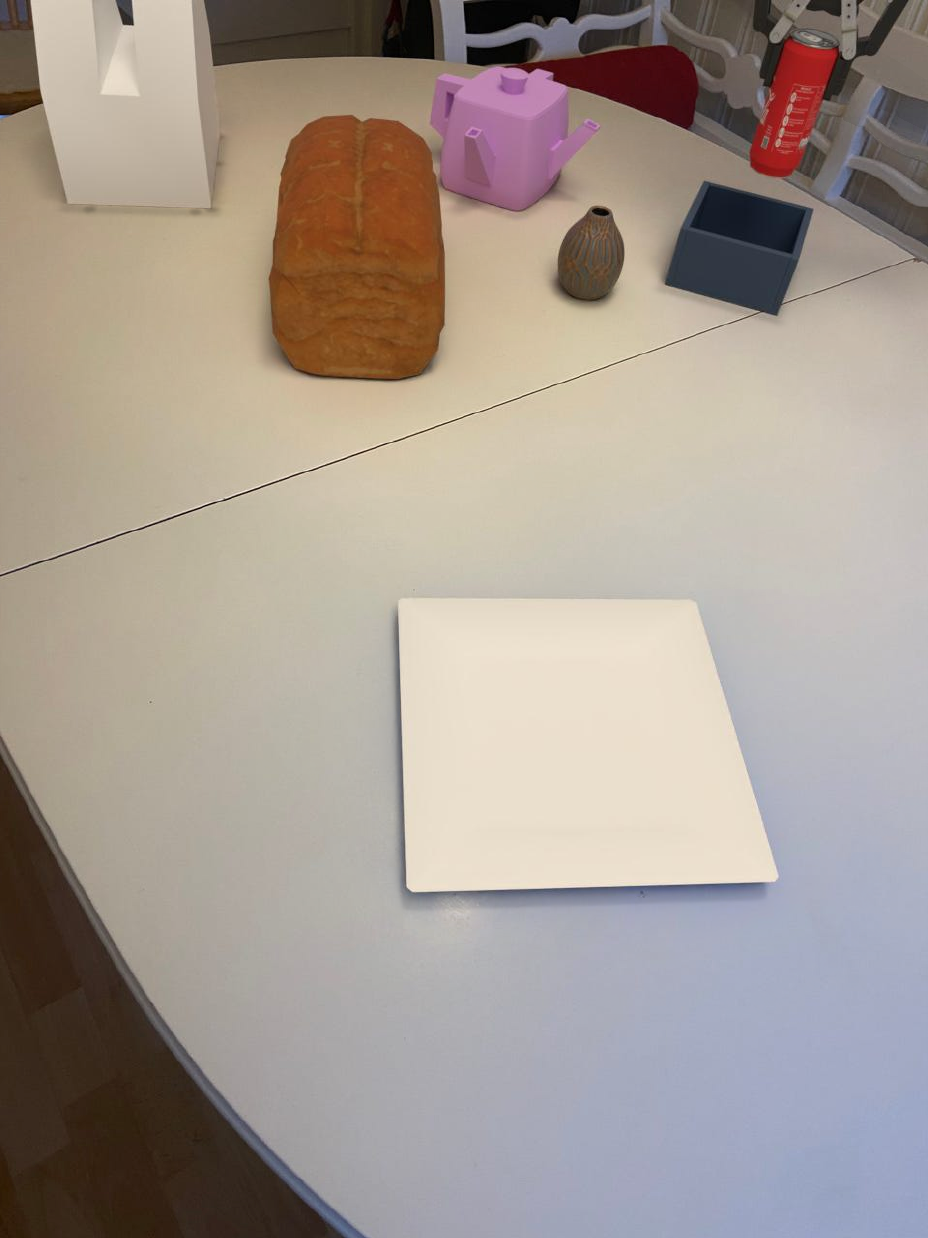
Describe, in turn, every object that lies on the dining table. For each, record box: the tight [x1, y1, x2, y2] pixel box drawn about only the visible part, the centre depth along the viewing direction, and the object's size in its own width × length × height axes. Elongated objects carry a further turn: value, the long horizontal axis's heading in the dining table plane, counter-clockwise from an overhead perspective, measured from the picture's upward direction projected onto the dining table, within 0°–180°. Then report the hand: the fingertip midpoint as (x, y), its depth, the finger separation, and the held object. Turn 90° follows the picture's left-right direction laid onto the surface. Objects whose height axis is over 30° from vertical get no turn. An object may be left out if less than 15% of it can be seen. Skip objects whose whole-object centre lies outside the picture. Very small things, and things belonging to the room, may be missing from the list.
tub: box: [664, 180, 814, 316], centre depth 103 cm, size 13×13×6 cm
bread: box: [268, 114, 446, 380], centre depth 89 cm, size 16×27×16 cm, turn 3°
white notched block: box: [30, 0, 221, 209], centre depth 100 cm, size 19×15×25 cm
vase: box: [556, 205, 626, 301], centre depth 97 cm, size 7×7×9 cm
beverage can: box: [749, 27, 841, 179], centre depth 90 cm, size 5×5×12 cm
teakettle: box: [429, 65, 601, 212], centre depth 110 cm, size 17×17×12 cm
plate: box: [397, 597, 780, 893], centre depth 62 cm, size 22×22×2 cm
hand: (797, 89), depth 89 cm, fingers closed on beverage can, 5 cm apart
